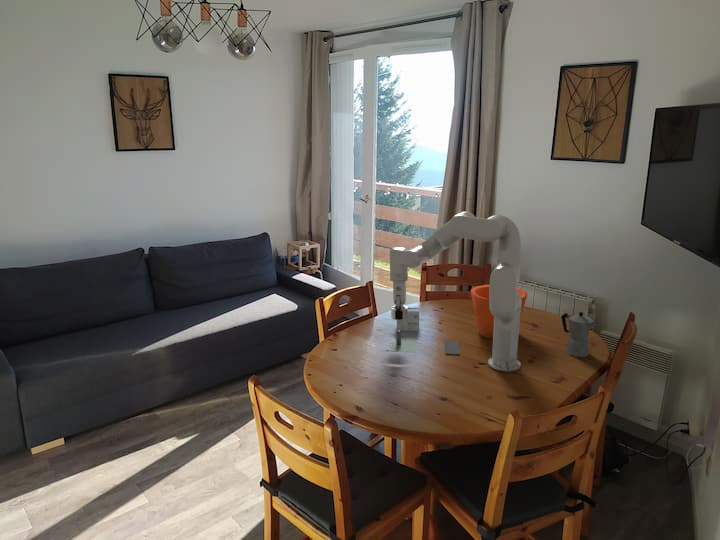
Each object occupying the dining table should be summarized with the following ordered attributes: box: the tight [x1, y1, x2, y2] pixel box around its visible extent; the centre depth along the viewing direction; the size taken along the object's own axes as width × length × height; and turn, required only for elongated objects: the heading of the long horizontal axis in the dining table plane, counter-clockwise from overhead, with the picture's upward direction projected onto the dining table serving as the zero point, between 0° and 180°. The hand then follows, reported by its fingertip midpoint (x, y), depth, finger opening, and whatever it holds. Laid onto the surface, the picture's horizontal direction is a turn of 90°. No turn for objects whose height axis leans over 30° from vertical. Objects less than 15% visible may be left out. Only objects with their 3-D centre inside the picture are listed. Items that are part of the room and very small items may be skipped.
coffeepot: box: [561, 311, 596, 358], centre depth 214 cm, size 15×9×18 cm, turn 34°
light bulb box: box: [396, 306, 420, 332], centre depth 243 cm, size 11×7×11 cm, turn 84°
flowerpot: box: [470, 284, 528, 340], centre depth 236 cm, size 25×25×20 cm
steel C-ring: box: [390, 304, 409, 321], centre depth 222 cm, size 7×7×4 cm
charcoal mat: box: [444, 340, 461, 356], centre depth 223 cm, size 14×14×1 cm
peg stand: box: [388, 330, 418, 353], centre depth 225 cm, size 16×16×7 cm
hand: (399, 316), depth 222 cm, fingers closed on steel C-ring, 7 cm apart
